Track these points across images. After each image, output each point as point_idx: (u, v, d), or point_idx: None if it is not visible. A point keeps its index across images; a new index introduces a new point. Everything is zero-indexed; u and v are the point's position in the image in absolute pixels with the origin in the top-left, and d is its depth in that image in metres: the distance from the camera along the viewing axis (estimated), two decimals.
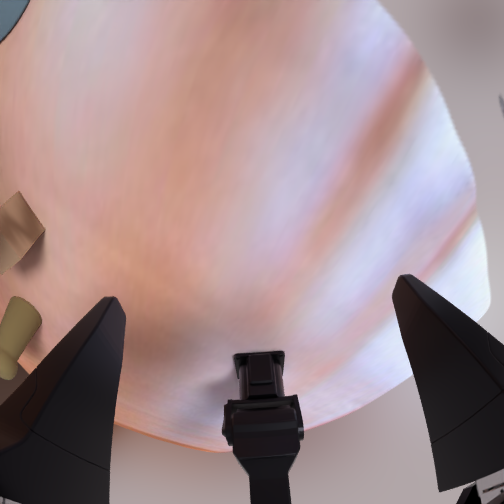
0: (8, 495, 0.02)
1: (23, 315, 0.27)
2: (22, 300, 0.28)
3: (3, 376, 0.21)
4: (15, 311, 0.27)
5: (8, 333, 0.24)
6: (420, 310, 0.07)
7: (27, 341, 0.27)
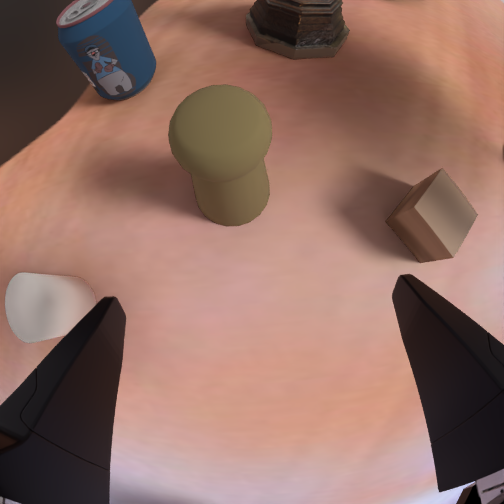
0: (8, 495, 0.02)
1: (263, 197, 0.20)
2: (269, 192, 0.22)
3: (213, 135, 0.12)
4: (267, 179, 0.20)
5: (262, 167, 0.17)
6: (420, 310, 0.07)
7: (223, 203, 0.18)
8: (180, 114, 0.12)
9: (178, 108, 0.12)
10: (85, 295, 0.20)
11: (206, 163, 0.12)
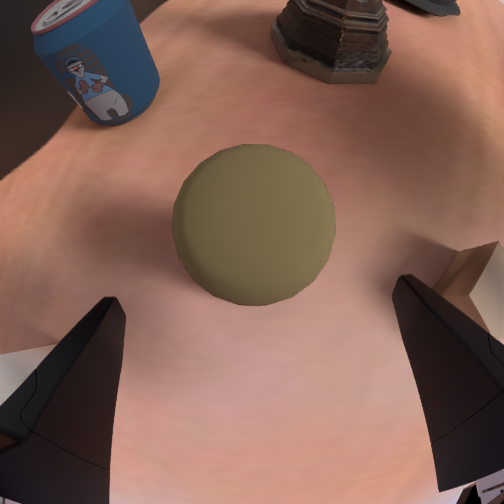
0: (8, 495, 0.02)
1: None
2: None
3: (249, 252, 0.07)
4: None
5: None
6: (420, 310, 0.07)
7: None
8: (191, 200, 0.08)
9: (187, 186, 0.08)
10: None
11: (236, 294, 0.08)
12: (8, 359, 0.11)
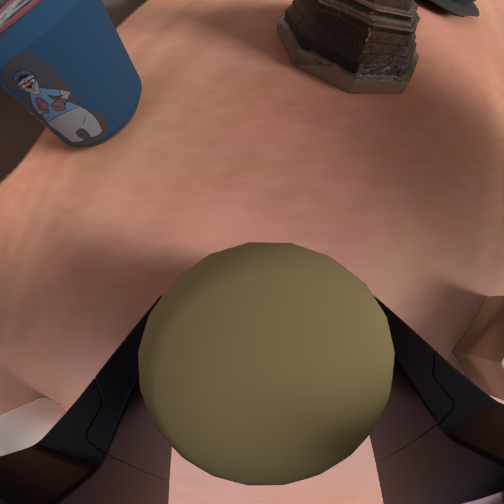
0: None
1: None
2: None
3: (263, 458, 0.04)
4: None
5: None
6: None
7: None
8: (162, 372, 0.04)
9: (154, 340, 0.04)
10: None
11: None
12: None
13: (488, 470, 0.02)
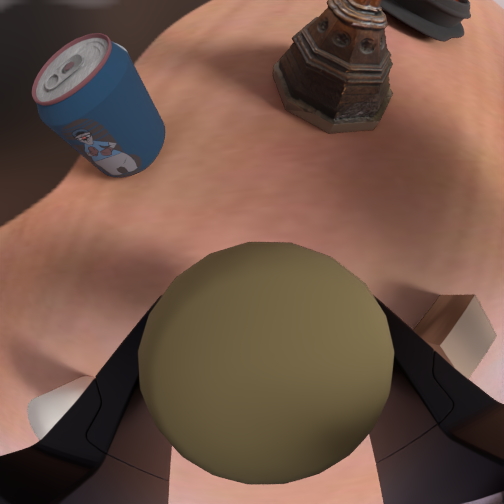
0: None
1: None
2: None
3: (263, 457, 0.04)
4: None
5: None
6: None
7: None
8: (162, 371, 0.04)
9: (153, 339, 0.04)
10: None
11: None
12: (51, 402, 0.13)
13: (488, 470, 0.02)
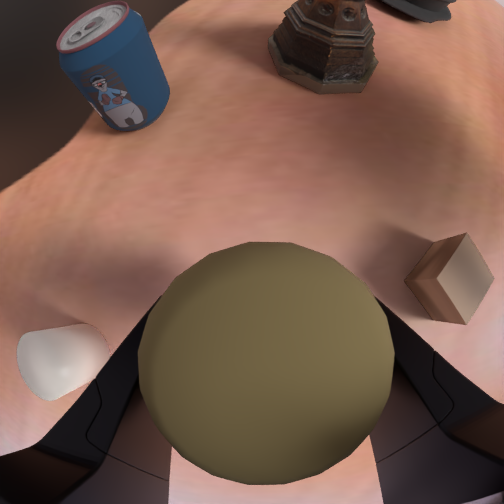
0: None
1: None
2: None
3: (263, 458, 0.04)
4: None
5: None
6: None
7: None
8: (162, 371, 0.04)
9: (153, 339, 0.04)
10: (99, 347, 0.19)
11: None
12: (41, 334, 0.14)
13: (488, 470, 0.02)
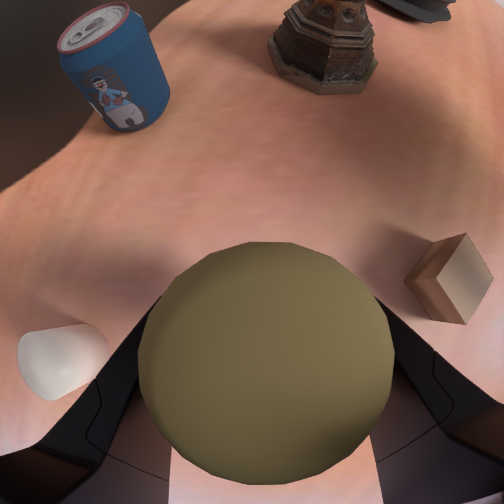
0: None
1: None
2: None
3: (263, 458, 0.04)
4: None
5: None
6: None
7: None
8: (162, 371, 0.04)
9: (153, 339, 0.04)
10: (99, 347, 0.19)
11: None
12: (42, 334, 0.14)
13: (488, 470, 0.02)
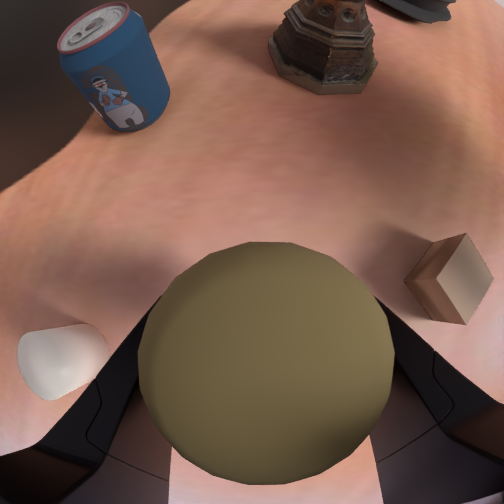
0: None
1: None
2: None
3: (263, 458, 0.04)
4: None
5: None
6: None
7: None
8: (162, 371, 0.04)
9: (153, 339, 0.04)
10: (99, 347, 0.19)
11: None
12: (42, 334, 0.14)
13: (488, 470, 0.02)
